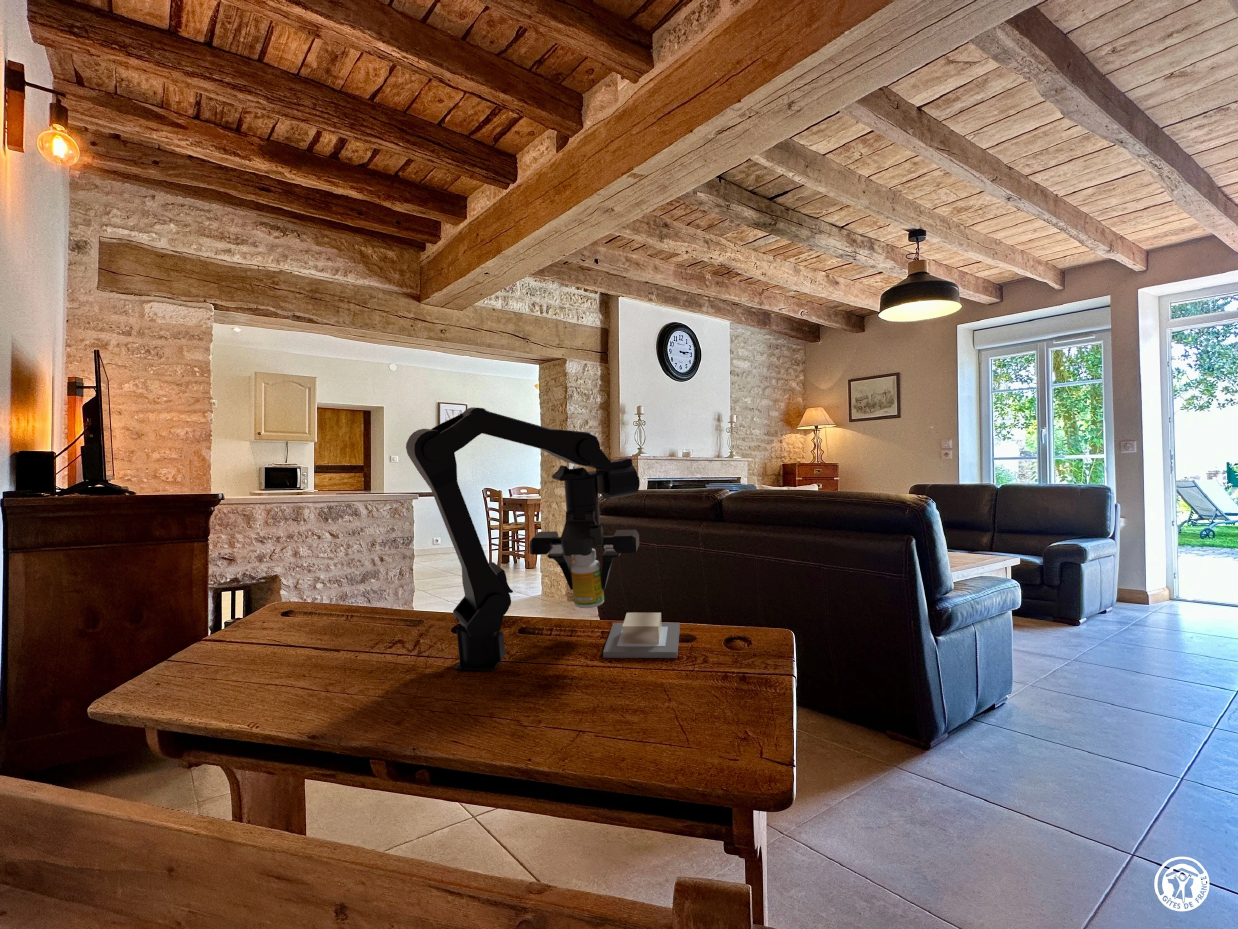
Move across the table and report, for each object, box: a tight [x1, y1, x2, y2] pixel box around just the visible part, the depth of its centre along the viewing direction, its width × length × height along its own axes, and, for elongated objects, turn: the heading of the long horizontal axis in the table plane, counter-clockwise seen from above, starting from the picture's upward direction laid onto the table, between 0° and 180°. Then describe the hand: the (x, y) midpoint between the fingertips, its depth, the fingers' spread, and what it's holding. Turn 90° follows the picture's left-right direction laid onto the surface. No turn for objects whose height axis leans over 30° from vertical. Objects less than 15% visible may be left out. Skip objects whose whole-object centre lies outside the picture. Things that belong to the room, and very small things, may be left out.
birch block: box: [622, 612, 662, 644], centre depth 106 cm, size 6×6×3 cm
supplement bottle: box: [571, 547, 605, 609], centre depth 111 cm, size 5×5×10 cm
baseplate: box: [602, 622, 681, 659], centre depth 107 cm, size 12×12×1 cm
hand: (588, 588), depth 111 cm, fingers closed on supplement bottle, 5 cm apart
